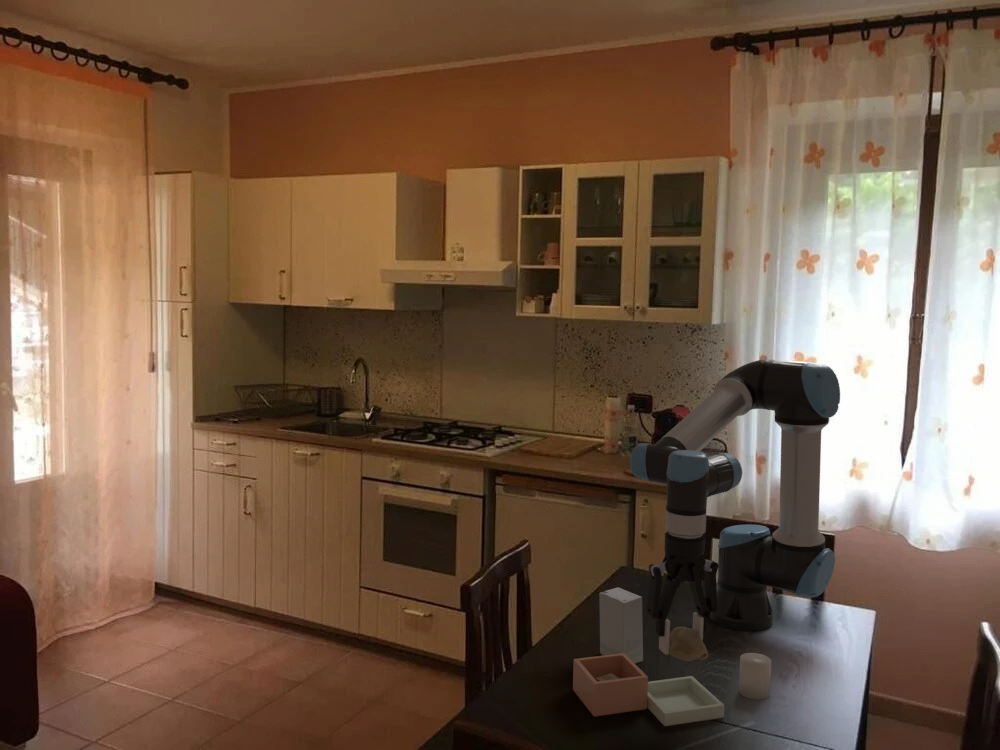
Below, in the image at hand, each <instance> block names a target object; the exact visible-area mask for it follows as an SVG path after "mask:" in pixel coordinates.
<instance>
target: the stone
mask: <svg viewBox="0 0 1000 750" xmlns="http://www.w3.org/2000/svg"><path fill="white" fill-rule="evenodd" d="M669 655H670V656H672V657H673V658H675V659H678V660H681V661H684V662H692V661H694V660H699V661H703V660H706V659H708V658H709V651H708V649H707V646H706V645H705V643H704V642H703V641H702V639H701V637H700V636H699V635H698V634H697V632H696V631H695V630H693V628H692V627H686V626H677V627H674V628H673V629H672V630H670V640H669Z"/></svg>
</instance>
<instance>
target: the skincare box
mask: <svg viewBox="0 0 1000 750" xmlns="http://www.w3.org/2000/svg"><path fill="white" fill-rule="evenodd" d="M598 598H599V651H600V655H601V656H603V655H612V654H620V653H625V654H626V655H627V656H628V657H629V658H630V659H631V660H632V661H633V662H634V663H635V664H638V663H640V662H643V661H644V641H643V637H644V636H643V633H644V632H643V631H644V630H643V624H644V623H643V596H640V595H638V594H636V593H632V592H631V591H629V590H625V589H623V588H621V587H615V588H611V589H607V590H603V591H601V592H599V597H598Z"/></svg>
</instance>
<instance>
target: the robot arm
mask: <svg viewBox="0 0 1000 750" xmlns="http://www.w3.org/2000/svg"><path fill="white" fill-rule="evenodd" d="M837 376H838V375H836V373H835V371H834V369H832V368H831V367H830V366H828V365H826V364H821V363H816V362H812V361H796V360H780V359H779V360H778V359H777V360H776V359H770V358H769V359H768V358H766V359H758V360H755V361H752V362H749V363H746V364H743V365H741V366H739V367H737V368H735V369H734V370H732V371H730V372H729V373H727V374H726V375H724V376H723V377H722V378H721V379H719V381H717V383H715V384H714V387H713V391H712V393H711V394H709V395H708V396H707V397H706V398H705V399H704V400H703V401H701V403H699V404H698V405H697V406H696V407H694V408H693V410H691V411H690V412H689V413H688V414H687V415H686V416H685V417H684V418H683V419H681V420H680V421H679V422H678V423H677V424H675V426H674V427H672V428H671V429H670V430H668V432H667V433H666V434H665V435H663V436H662V437H661V438H660V439H659V440H658V441H657V442H656V443H654V444H652V443H638V444H637V445H636V446H635V447H634V448H633V449H632V451H631V453H630V456H629V457H630V458H629V466H630V470H631V473H632V475H633V476H635V478H638V479H642V480H645V481H648V482H650V483H652V482H653V483H656V484H657V483H658V484H663V485H666V504H665V505H666V506H665V526H664V527H665V530H666V532H665V533H664V547H663V548H664V558H663V560H662V562H661V563H658V564H653V563H650V564H649V565H648V569H649V570H648V571H649V574H650V579H649V588H648V590H649V591H648V598H647V605H646V613H647V615H649V616H650V617H651V618H652V619H654V620H655V633H656V635H657V636H658V649H659V650H660V651H661V653H663V654H664V655H670V653H669V648H670V641H671V640H670V633H671V629H670V628H671V620H670V619H668V615H669V613H670V609H671V607H672V603H673V601H674V598H675V596H676V595H675V594H676V592H677V589H679V588H680V585H681V583H684V582H689V587H690V590H691V593H692V597H693V600H694V604H695V607H696V611H697V612H692V629H693V630H695V631H696V632H697V634H698V635H699V636H700V637H701V639H702V641H703V640H704V632H706V631H707V629H708V619H710V620H711V621H712V622H713V623H715V624H717V625H719V626H721V627H724V628H726V629H731V630H735V631H736V630H737V631H742V632H744V631H745V632H755V631H764V630H766V629H768V628H770V627H771V626H772V625H773V621H774V618H773V617H774V613H773V609H772V605H771V602H770V598H769V595H768V591H767V589H768V588H767V587H771V588H774V589H777V590H781V591H785V592H788V593H790V594H795V595H796V596H804V597H807V598H817V597H819V596H820V595H822V594H823V593H824V591H825V590H826V589H827V588H828V586H829V584H830V582H831V579H832V576H833V574H834V573H833V572H834V569H835V562H836V557H835V554H834V551H833V550H831V549H830V548H826V537H825V536H824V534H823V533H822V532H820V531H819V526H820V525H819V523H820V522H819V521H820V490H821V489H820V487H821V485H820V484H821V483H820V482H821V458H822V457H821V452H822V430H823V429H824V428H825V427H827V425H829V423H830V418H832V417H834V416H835V415H836V414H837V413H838V410H839V404H840V403H841V402H840V401H841V390H840V389H841V388H840V383H839V379H838V377H837ZM751 410H767V411H774V423H776V424H777V426H779V427H780V429H781V432H780V435H781V437H780V471H779V474H780V478H779V482H780V483H779V516H778V517H779V519H778V520H779V521H778V524H779V525H778V528H777V529H775V531H774V532H772V534H771V531H770V528H769V527H767V526H764V525H761V524H738V525H737V524H736V525H731V526H728V527H724V528H723V529H722V530H721V531H720V534H719V540H718V545H717V546H718V558H717V559H718V561H715V560H713V559H712V558H708V559H706V558H705V552H706V536H705V534H706V531H707V506H708V505H707V504H708V498H709V497H712V496H715V495H719V494H722V493H723V494H725V493H727V492H729V491H730V490H733V489H734V488H736V487H737V486H738V485H739V484H740V482H741V480H742V477H743V469H742V465H741V462H740V461H739V459H738V458H737V457H736V456H734V455H732V453H729V452H717V453H713V454H710V453H705V452H702V450H703V449H704V448H705V447H706V446H707V445H708V444H709V443H710V442H712V440H713V439H715V438H716V437H717V436H718V435H719V434H720V433H721V432H722V431H724V429H725V428H726V427H727V426H729V424H730V423H731V422H733V421H734V420H735V419H737V417H740V416H744V415H746V414H747V413H749V412H750V411H751ZM702 570H703V577H704V578H703V579H704V581H703V583H704V590H703V588H702V587H703V586H702V579H701V576H700V573H701V571H702ZM665 571H666V572H667V573H666V577H665V579H664V581H665V584H664V587H662V585H663V576H664V573H665ZM662 588H663V590H662Z"/></svg>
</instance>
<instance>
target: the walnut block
mask: <svg viewBox="0 0 1000 750" xmlns="http://www.w3.org/2000/svg"><path fill="white" fill-rule="evenodd" d="M614 679H620V678H618V677H617V676H615V675H613V674H612V673H610V674H607V675H603V676H600V677H597V678H595V680H596V681H597V682H598V681H606V680H614Z"/></svg>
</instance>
